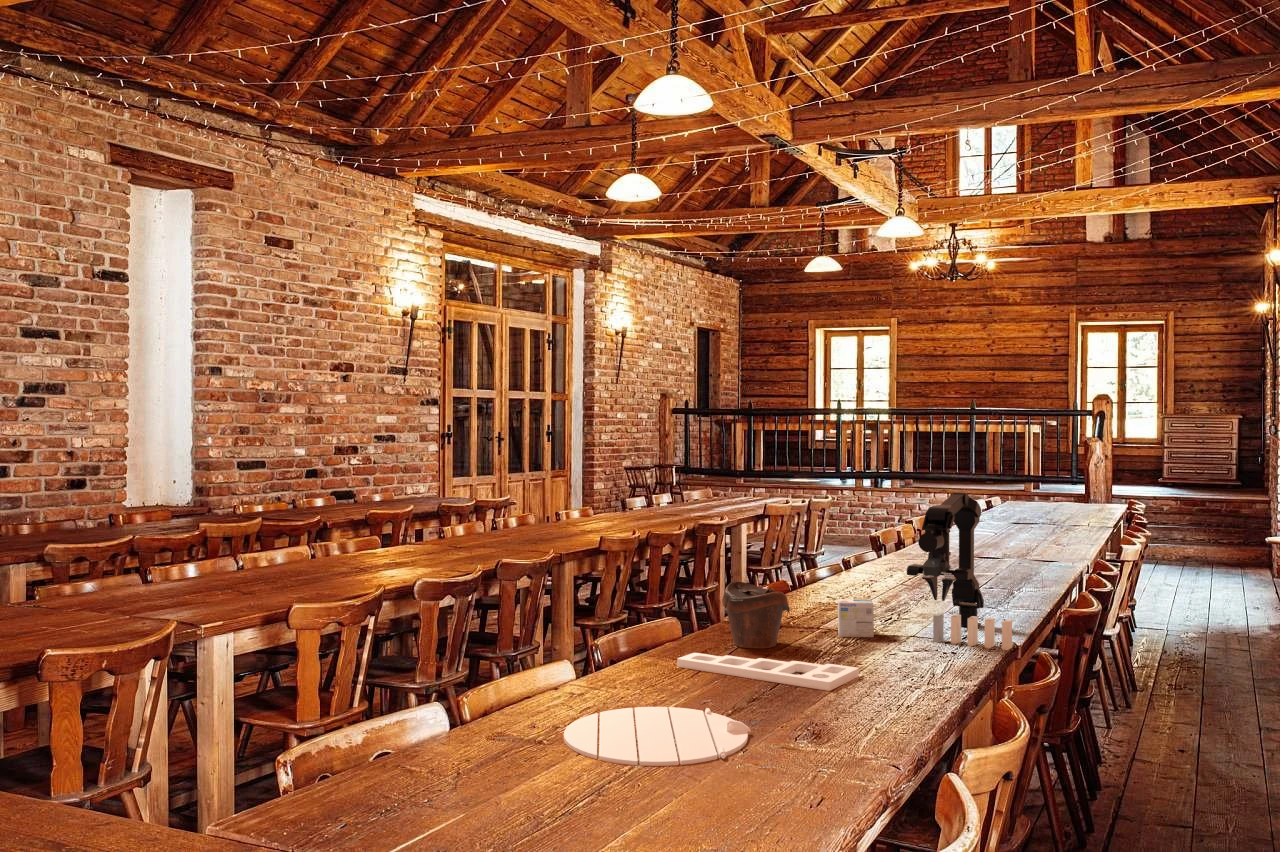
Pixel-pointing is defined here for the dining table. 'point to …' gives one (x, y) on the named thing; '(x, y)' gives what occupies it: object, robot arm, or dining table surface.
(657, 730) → the white grooved round board
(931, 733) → the dining table surface
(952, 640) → the domino
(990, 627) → the domino
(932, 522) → the robot arm
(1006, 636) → the domino
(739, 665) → the holder
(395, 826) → the dining table surface
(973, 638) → the domino
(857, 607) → the light bulb box
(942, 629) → the domino
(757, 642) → the rusty bucket
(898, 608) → the dining table surface
